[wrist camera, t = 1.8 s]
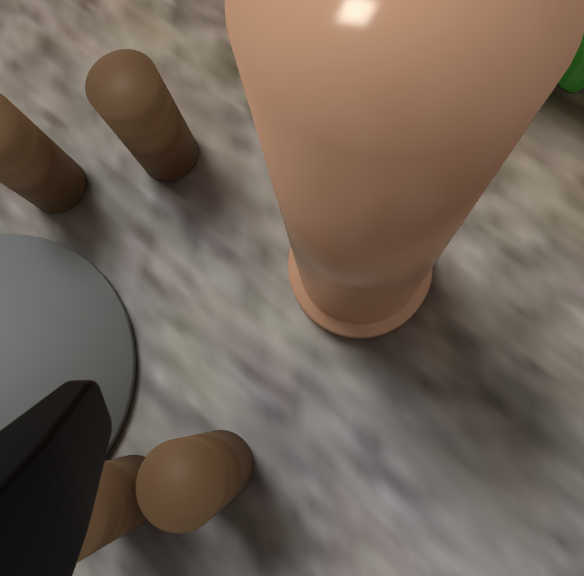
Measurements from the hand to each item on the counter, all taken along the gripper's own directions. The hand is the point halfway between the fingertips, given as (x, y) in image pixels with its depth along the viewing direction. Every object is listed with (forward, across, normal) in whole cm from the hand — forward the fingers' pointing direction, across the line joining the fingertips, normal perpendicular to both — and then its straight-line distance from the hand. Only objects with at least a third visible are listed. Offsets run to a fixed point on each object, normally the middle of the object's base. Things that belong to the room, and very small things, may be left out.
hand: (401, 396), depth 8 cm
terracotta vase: (+12, 0, +5) cm, 13 cm away
